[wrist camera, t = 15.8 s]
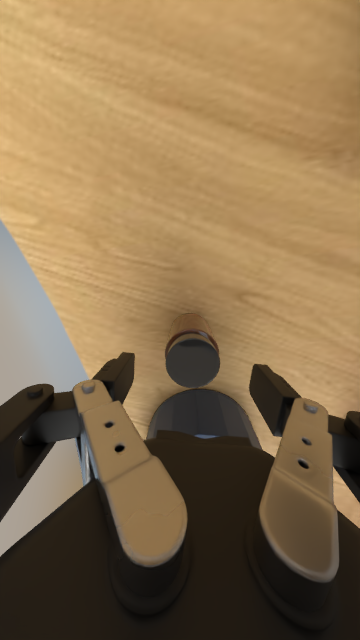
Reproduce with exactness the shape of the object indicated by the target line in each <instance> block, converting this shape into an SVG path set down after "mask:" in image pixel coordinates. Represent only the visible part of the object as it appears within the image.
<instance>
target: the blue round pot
mask: <svg viewBox="0 0 360 640" xmlns="http://www.w3.org/2000/svg"><path fill="white" fill-rule="evenodd" d="M157 430H168V431H180V432H183V433H186V434H190V435H193V436H196V437H199V438H204V439H205V438H213V437H220V436H237V437H248V438H249V440H250V442H251V445H252V446H254V447H256V448H259V449H261V450H262V447H261V445H260V443H259V441H258V438H257V436H256V434H255V432H254V429H253V427H252V425H251V422H250V420H249V418H248V416H247V415H246V414H245V412H244V410H243V409H242V408H241V406H240V405H239V404H238V403H237V402H235V401H234V400H233V399H231V398H230V397H228V396H226V395H224V394H222V393H219V392H216V391H212V390H206V389H195V390H188V391H184V392H181V393H178V394H176V395H174V396H172V397H170V398H169V399H167V400H166V401H165V402H163V403H162V404H161V405H160V407H159V408H158V409H157V410H156V412H155V414H154V416H153V418H152V421H151V422H150V426H149V430H148V434H147V438H146V439H150V438H154V437H156V435H157Z"/></svg>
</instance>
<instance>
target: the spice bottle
mask: <svg viewBox="0 0 360 640" xmlns="http://www.w3.org/2000/svg"><path fill="white" fill-rule="evenodd" d="M165 359H166V369H167V372H168V374H169V376H170V377H171V378H172V380H174V381H175V382H176V383H177V384H179V385H181V386H184V387H188V388H198V387H202V386H204V385H207V384H208V383H210V382H211V381H212V380H213V379H214V378H215V377H216V375H217V373H218V371H219V368H220V358H219V349H218V345H217V343H216V341H215V339H214V336H213V334H212V332H211V330H210V328H209V325H208V323H207V322H206V320H205V319H204V318H203V317H201V316H200V315H197V314H193V313H187V314H183V315H181V316H179V317H178V318H177V319H176V320H175V321H174V322H173V324H172V327H171V330H170V334H169V338H168V342H167V345H166V349H165Z"/></svg>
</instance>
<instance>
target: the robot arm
mask: <svg viewBox="0 0 360 640" xmlns="http://www.w3.org/2000/svg"><path fill="white" fill-rule="evenodd" d="M134 360H135V355H134V353H126V352H122V354H121V355H120V356H119V357H118V358H117V359H112V360H110V361H108V362H107V363H106V364H105V365H104V366H103V367H102V368H101V369H100V371H99V372H98V373H97V374H96V375H95V376H94V377H93V378H92V379H91V380H86V381H83V382H80V383H78V384H77V385H75V386H74V388H73V390H72V391H70V392H61V393H54V387H53V386H52V385H49V384H37V385H33V386H30V387H27V388H25V389H23V390H22V391H20V392H18V393H17V394H16V395H15V396H13V397H12V398H11V399H9V400H8V401H7V402H5V403H4V404H3V405H1V406H0V522H1V520H2V519H3V517H4V516H5V515H6V513H7V512H8V510H9V509H10V507H11V506H12V505H13V503H14V502H15V500H16V499H17V497H18V496H19V495H20V493H21V491H22V490H23V489H24V487H25V486H26V484H27V483H28V482H29V480H30V478H31V477H32V476H33V474H34V473H35V472H36V470H37V469H38V467H39V466H40V464H41V463H42V461H43V460H44V459H45V457H46V456H47V454H48V453H49V451H50V450H51V449H52V447H53V446H54V444H55V443H56V441H60V440H65V439H71V438H75V441H76V447H77V452H78V456H79V461H80V466H81V471H82V478H83V487H82V488H81V489H80V490H79V491H78V492H76V493H75V494H74V495H73V496H72V497H70V498H69V499H68V500H67V501H66V502H64V503H63V504H62V505H61V506H60V507H58V508H57V509H56V510H55V511H54V512H52V513H51V514H50V515H49V516H48V517H46V518H45V519H44V520H43V521H42V522H41V523H39V524H38V525H37V526H35V527H34V528H33V529H32V530H31V531H30V532H28V533H27V534H26V535H25V536H23V537H22V538H21V539H20V540H19V541H17V542H16V543H15V544H14V545H13V546H12V547H10V548H9V549H8V550H7V551H6V552H5V553H4V554H2V555H1V557H0V640H360V529H359V528H358V527H357V526H356V525H355V524H354V523H352V522H351V521H350V520H349V519H348V518H346V517H345V516H344V515H343V514H342V513H340V512H339V511H338V510H337V508H336V506H335V505H334V501H333V467H334V468H335V470H336V471H337V472H338V474H339V475H340V476H341V478H342V479H343V481H344V482H345V483H346V485H347V486H348V487H349V489H350V490H351V492H352V493H353V494H354V496H355V497H356V498H357V500H358V501H359V503H360V412H356V411H349V412H348V413H347V415H346V418H345V419H342V418H338V417H335V416H331V415H328V411H327V410H326V409H325V408H324V407H323V406H322V405H320V404H319V403H317V402H315V401H312V400H310V399H306V398H302V397H301V396H300V395H299V394H298V393H297V392H296V391H295V390H294V389H293V388H292V387H291V386H290V385H289V384H288V383H287V382H286V381H285V380H284V379H283V378H282V377H281V376H279V375H277V374H276V373H274V372H273V371H272V370H271V369H270V368H269V367H268V366H267V365H261V364H254V366H253V369H252V374H251V380H250V385H249V391H250V395H251V397H252V398H253V400H254V402H255V404H256V405H257V407H258V409H259V411H260V413H261V414H262V416H263V418H264V420H265V421H266V423H267V425H268V427H269V429H270V430H271V432H272V434H273V436H278V437H282V439H281V442H280V445H279V448H278V451H277V454H276V457H273V456H272V455H270V454H269V453H267V452H265V451H263V450H261V449H259V448H256V447H254V446H252V445H251V442H250V440H249V438H248V437H237V436H220V437H213V438H205V439H204V438H199V437H196V436H193V435H190V434H186V433H183V432H180V431H168V430H157V435H156V437H154V438H150V439H146V440H144V441H143V440H142V438H141V436H140V435H139V433H138V431H137V430H136V428H135V426H134V425H133V423H132V421H131V419H130V418H129V416H128V414H127V413H126V411H125V409H124V408H123V406H122V404H123V402H124V400H125V398H126V396H127V394H128V392H129V390H130V388H131V386H132V383H133V379H134ZM21 436H22V437H21ZM20 437H21V438H20ZM19 438H20V439H19ZM18 439H19V440H18Z"/></svg>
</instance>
